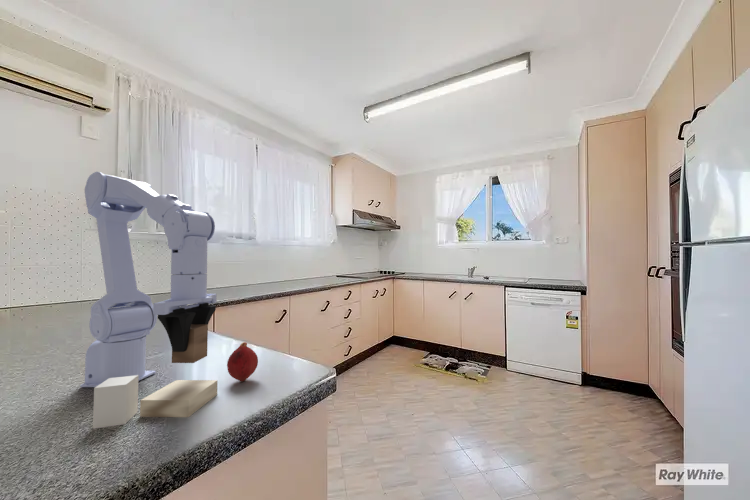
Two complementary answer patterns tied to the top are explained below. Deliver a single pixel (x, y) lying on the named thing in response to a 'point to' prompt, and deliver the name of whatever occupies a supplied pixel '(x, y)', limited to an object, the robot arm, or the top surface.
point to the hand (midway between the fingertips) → (188, 347)
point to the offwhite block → (115, 401)
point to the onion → (242, 362)
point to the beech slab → (178, 398)
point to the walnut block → (193, 345)
